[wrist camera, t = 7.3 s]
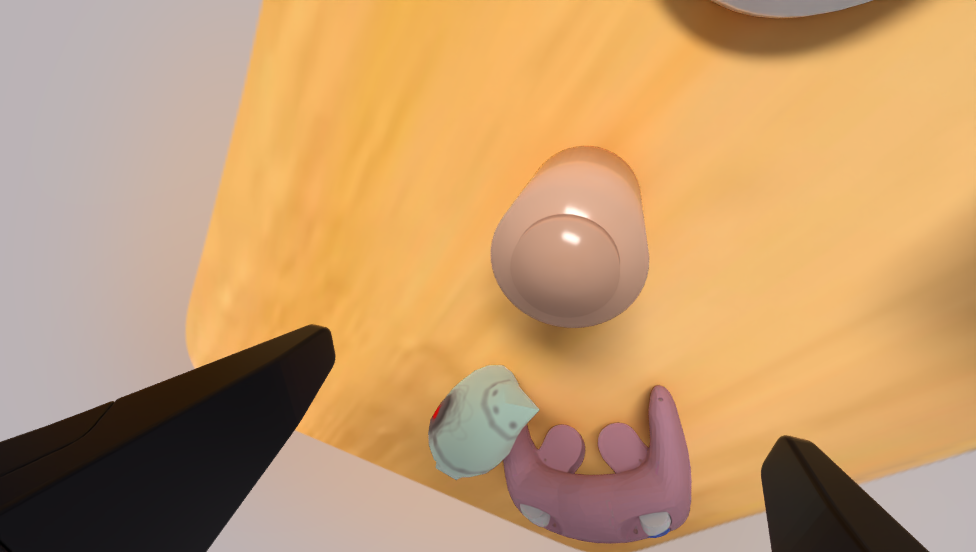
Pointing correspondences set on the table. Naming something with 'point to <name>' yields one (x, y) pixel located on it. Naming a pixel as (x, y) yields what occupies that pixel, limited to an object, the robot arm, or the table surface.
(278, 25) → the table surface
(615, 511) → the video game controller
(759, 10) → the coaster
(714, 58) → the table surface
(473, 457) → the robot head
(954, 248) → the table surface
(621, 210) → the cup
